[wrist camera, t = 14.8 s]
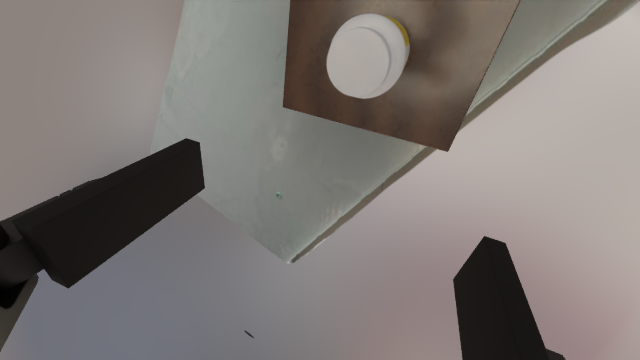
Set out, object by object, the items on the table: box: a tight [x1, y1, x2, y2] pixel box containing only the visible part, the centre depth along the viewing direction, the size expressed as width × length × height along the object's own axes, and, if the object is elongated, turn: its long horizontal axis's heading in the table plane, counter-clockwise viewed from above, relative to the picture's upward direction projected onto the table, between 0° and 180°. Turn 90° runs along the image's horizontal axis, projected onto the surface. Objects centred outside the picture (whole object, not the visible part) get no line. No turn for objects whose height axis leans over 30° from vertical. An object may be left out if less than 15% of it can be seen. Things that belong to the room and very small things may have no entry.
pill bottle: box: [327, 13, 410, 99], centre depth 23 cm, size 6×6×12 cm
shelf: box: [283, 0, 520, 152], centre depth 33 cm, size 22×16×10 cm
